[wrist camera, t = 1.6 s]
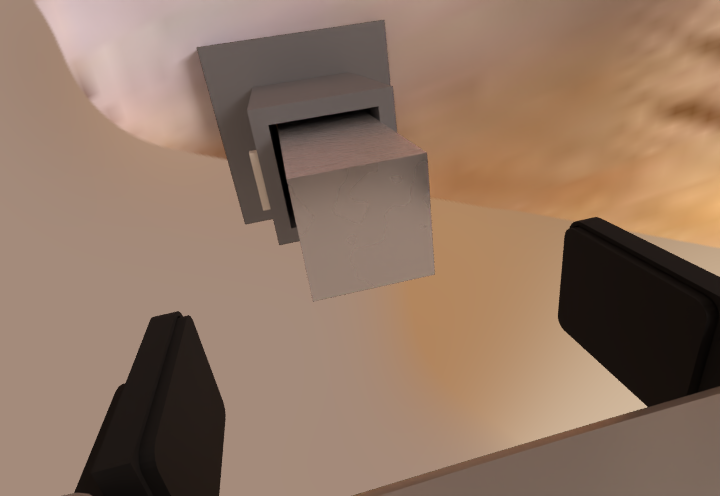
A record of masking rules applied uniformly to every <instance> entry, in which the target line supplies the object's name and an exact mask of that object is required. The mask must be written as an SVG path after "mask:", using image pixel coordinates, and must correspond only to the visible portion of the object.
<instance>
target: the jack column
mask: <svg viewBox="0 0 720 496" xmlns="http://www.w3.org/2000/svg"><path fill="white" fill-rule="evenodd" d="M277 129H278V134H279V139H280V144H281V150H282V156H283V162H284V167H285V173H286V179H287V184H288V188H289V193H290V197H291V202H292V207H293V211H294V216H295V221H296V225H297V230H298V234H299V239H300V243H301V248H302V253H303V257H304V262H305V267H306V271H307V275H308V280H309V285H310V290H311V294H312V299H313V302H314V301H318V300H323V299H327V298H332V297H336V296H341V295H345V294H350V293H354V292H358V291H363V290H367V289H372V288H376V287H381V286H385V285H390V284H394V283H399V282H403V281H408V280H412V279H416V278H421V277H426V276H430V275H434V274H435V270H434V254H433V238H432V222H431V208H430V190H429V174H428V159H427V152H425V151H424V150H422V149H421V148H419V147H418V146H416V145H415V144H413V143H412V142H410V141H409V140H407V139H406V138H404V137H403V136H401V135H400V134H398V133H397V132H395V131H393V130H392V129H390V128H389V127H387V126H386V125H384V124H383V123H381V122H380V121H378V120H377V119H375V118H374V117H372V116H371V115H369V114H368V113H366V112H365V111H363V110H362V109H359V110H354V111H348V112H342V113H336V114H330V115H324V116H319V117H313V118H307V119H301V120H295V121H289V122H284V123H278V124H277Z"/></svg>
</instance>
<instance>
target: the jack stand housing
mask: <svg viewBox="0 0 720 496" xmlns="http://www.w3.org/2000/svg"><path fill="white" fill-rule="evenodd" d="M197 50H198V54H199V58H200V61H201V65H202V69H203V72H204V76H205V80H206V83H207V87H208V91H209V94H210V98H211V101H212V105H213V109H214V112H215V116H216V120H217V123H218V127H219V131H220V134H221V138H222V141H223V145H224V149H225V152H226V156H227V160H228V163H229V167H230V171H231V174H232V178H233V181H234V185H235V189H236V192H237V196H238V199H239V203H240V207H241V210H242V214H243V218H244V222H245V224H250V223H254V222H260V221H264V220H270V219H273V221H274V225H275V229H276V233H277V237H278V241H279V245H283V244H287V243H293V242H297V241H300V239H299V234H298V230H297V225H296V221H295V216H294V211H293V207H292V202H291V197H290V193H289V188H288V184H287V179H286V173H285V167H284V162H283V156H282V150H281V144H280V139H279V134H278V129H277V124H278V123H284V122H289V121H295V120H301V119H307V118H313V117H319V116H324V115H330V114H336V113H342V112H348V111H354V110H359V109H362V110H363V111H365V112H366V113H368V114H369V115H371V116H372V117H374V118H375V119H377V120H378V121H380V122H381V123H383V124H384V125H386V126H387V127H389V128H390V129H392V130H393V131H395V132H397V126H396V116H395V105H394V94H393V86H391V85H390V74H389V64H388V53H387V43H386V32H385V22H384V20H380V21H373V22H367V23H360V24H353V25H346V26H339V27H333V28H326V29H319V30H312V31H305V32H298V33H292V34H285V35H278V36H271V37H264V38H258V39H251V40H244V41H237V42H230V43H223V44H217V45H210V46H203V47H197Z"/></svg>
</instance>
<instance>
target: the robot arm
mask: <svg viewBox="0 0 720 496" xmlns="http://www.w3.org/2000/svg"><path fill="white" fill-rule="evenodd" d="M558 319H559V323H560V325H561V327H562V328H563V329H564V331H566V332H567V333H568V334H569V335H570V336H571V337H572V338H573V339H574V340H575V341H576V342H578V343H579V344H580V345H581V346H582V347H583V348H584V349H585V350H586V351H587V352H589V353H590V354H591V355H592V356H593V357H594V358H595V359H596V360H597V361H598V362H599V363H601V364H602V365H603V366H604V367H605V368H606V369H607V370H608V371H609V372H610V373H611V374H613V375H614V376H615V377H616V378H617V379H618V380H619V381H620V382H621V383H622V384H624V385H625V386H626V387H627V388H628V389H629V390H630V391H631V392H632V393H633V394H634V395H635V396H637V397H638V398H639V399H640V400H641V401H642V402H643V403H644V404H645V405H646V406H648V407H647V408H644V409H640V410H637V411H633V412H630V413H627V414H623V415H620V416H616V417H613V418H609V419H606V420H603V421H599V422H596V423H592V424H589V425H586V426H582V427H579V428H576V429H573V430H569V431H565V432H562V433H559V434H555V435H552V436H549V437H545V438H542V439H538V440H535V441H532V442H529V443H525V444H522V445H518V446H515V447H512V448H508V449H505V450H502V451H498V452H495V453H492V454H488V455H485V456H482V457H478V458H475V459H472V460H468V461H465V462H461V463H458V464H455V465H451V466H448V467H445V468H442V469H438V470H435V471H432V472H428V473H425V474H422V475H419V476H415V477H412V478H409V479H405V480H402V481H399V482H396V483H392V484H389V485H386V486H382V487H379V488H376V489H372V490H369V491H366V492H363V493H359V494H356V495H353V496H720V277H719V276H716V275H714V274H712V273H710V272H708V271H706V270H704V269H702V268H700V267H698V266H696V265H694V264H692V263H690V262H688V261H686V260H684V259H682V258H680V257H678V256H676V255H674V254H672V253H670V252H668V251H666V250H664V249H662V248H660V247H658V246H656V245H654V244H652V243H649V242H647V241H646V240H643V239H641V238H639V237H637V236H635V235H633V234H631V233H629V232H627V231H625V230H623V229H621V228H619V227H617V226H615V225H613V224H611V223H609V222H607V221H605V220H603V219H601V218H598V217H594V218H589V219H585V220H580V221H576V222H573V223H572V224H571V226H570V228H569V229H568V230H567V231H566V233H565V238H564V250H563V262H562V274H561V285H560V297H559V309H558ZM224 428H225V408H224V404H223V400H222V397H221V395H220V392H219V390H218V387H217V384H216V381H215V379H214V376H213V373H212V371H211V368H210V365H209V363H208V360H207V357H206V355H205V352H204V349H203V347H202V344H201V341H200V339H199V336H198V333H197V330H196V328H195V325H194V322H193V320H192V318H191V316H189V315H188V316H184V317H183V316H182V314H181V313H180V312H179V311H177V312H173V313H169V314H164V315H160V316H155V317H152V318H151V320H150V322H149V325H148V327H147V330H146V332H145V335H144V338H143V340H142V343H141V345H140V348H139V350H138V353H137V355H136V358H135V361H134V363H133V366H132V369H131V371H130V373H129V376H128V379H127V381H126V383H125V384H122V385H121V386H119V387H118V389H117V390H116V392H115V394H114V397H113V399H112V402H111V404H110V407H109V409H108V411H107V414H106V416H105V419H104V421H103V424H102V426H101V429H100V431H99V434H98V436H97V439H96V441H95V444H94V446H93V448H92V451H91V453H90V456H89V458H88V461H87V463H86V466H85V468H84V470H83V473H82V475H81V478H80V480H79V483H78V485H77V487H76V490H75V492H74V493H73V494H68V495H64V496H219V490H220V478H221V466H222V454H223V442H224V430H225V429H224Z"/></svg>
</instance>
